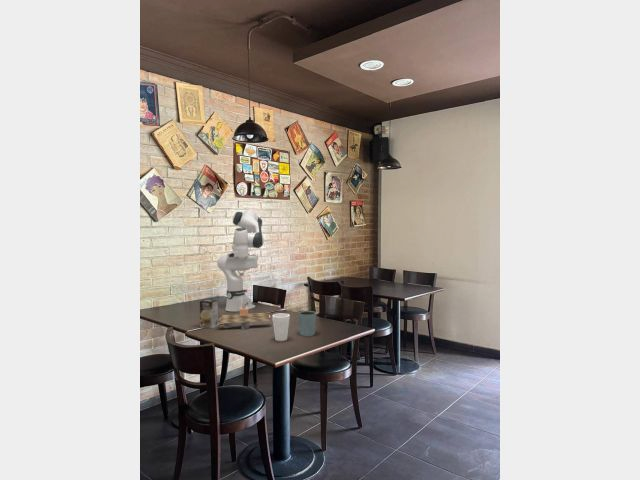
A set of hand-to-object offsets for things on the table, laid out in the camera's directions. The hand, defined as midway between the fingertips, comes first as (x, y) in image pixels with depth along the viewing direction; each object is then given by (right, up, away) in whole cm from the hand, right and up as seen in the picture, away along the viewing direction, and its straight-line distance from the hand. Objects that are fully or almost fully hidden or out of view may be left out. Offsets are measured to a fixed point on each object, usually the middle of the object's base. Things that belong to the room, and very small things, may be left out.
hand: (241, 275), depth 248 cm
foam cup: (+28, -31, -36) cm, 55 cm away
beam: (+4, -30, -12) cm, 32 cm away
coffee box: (-18, -30, -9) cm, 36 cm away
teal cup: (+42, -31, -26) cm, 58 cm away
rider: (+4, -23, -12) cm, 27 cm away
